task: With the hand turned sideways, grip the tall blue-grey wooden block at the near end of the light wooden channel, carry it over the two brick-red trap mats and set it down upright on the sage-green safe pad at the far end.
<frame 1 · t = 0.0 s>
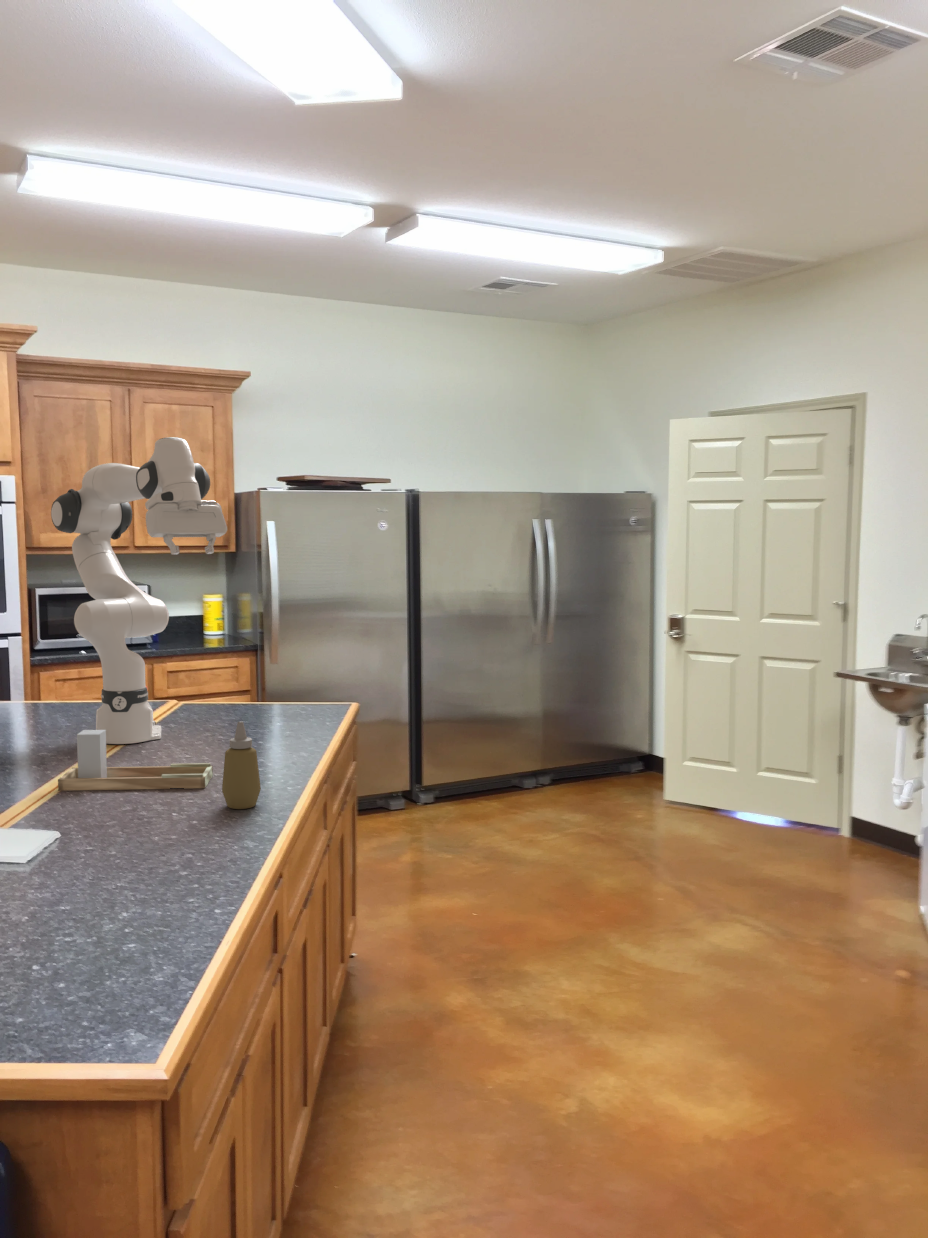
hand: (193, 553, 243), 52 cm above the worktop, tool tilted 20°, fingers open, 8 cm apart
blue-grey block: (92, 784, 227), resting in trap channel
squeeze bottle: (241, 807, 210), on the worktop
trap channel: (137, 783, 228), on the worktop
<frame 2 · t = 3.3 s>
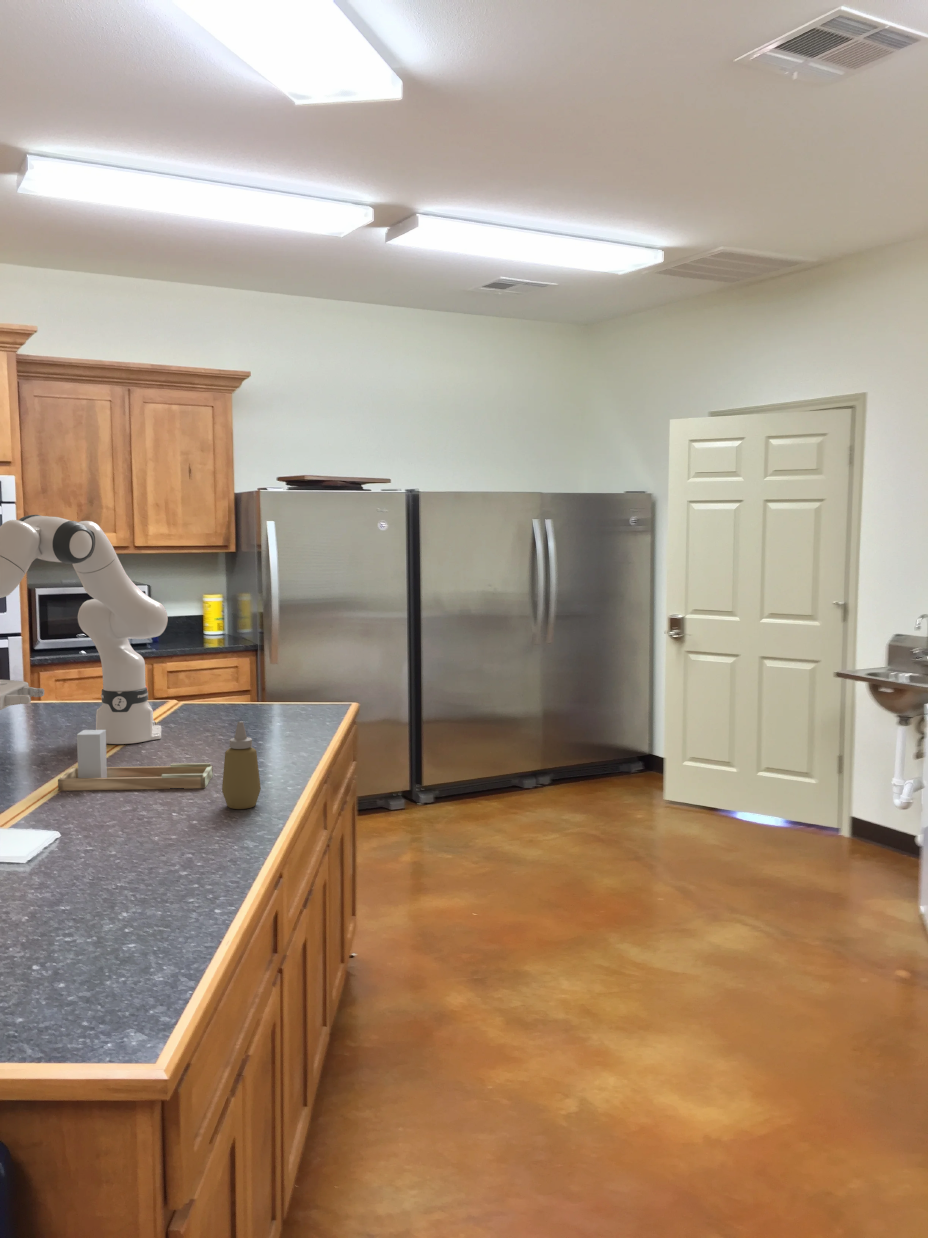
hand: (36, 696, 224), 20 cm above the worktop, tool horizontal, fingers open, 8 cm apart
nothing on the worktop moved.
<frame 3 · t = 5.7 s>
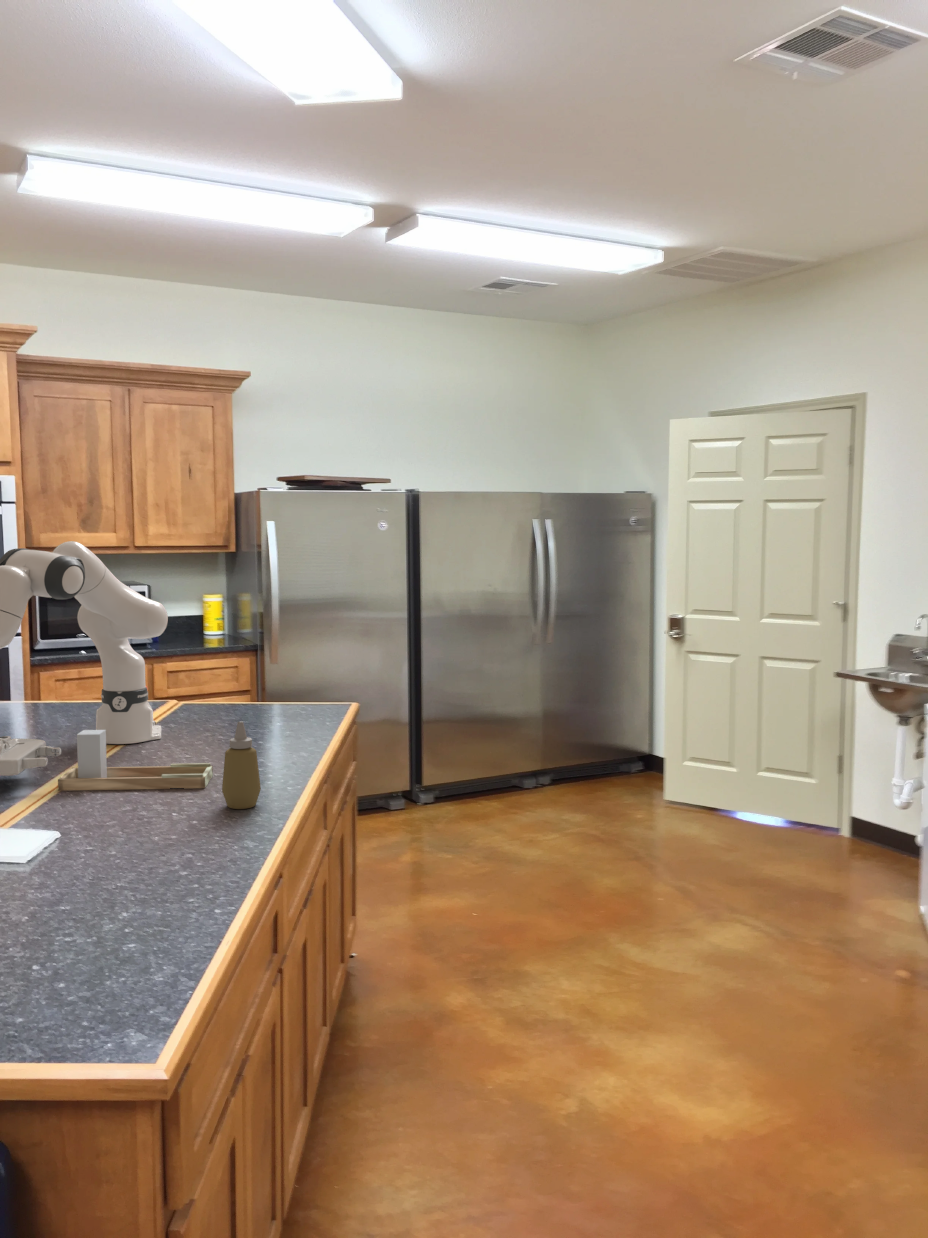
hand: (53, 756, 226), 6 cm above the worktop, tool horizontal, fingers open, 8 cm apart
nothing on the worktop moved.
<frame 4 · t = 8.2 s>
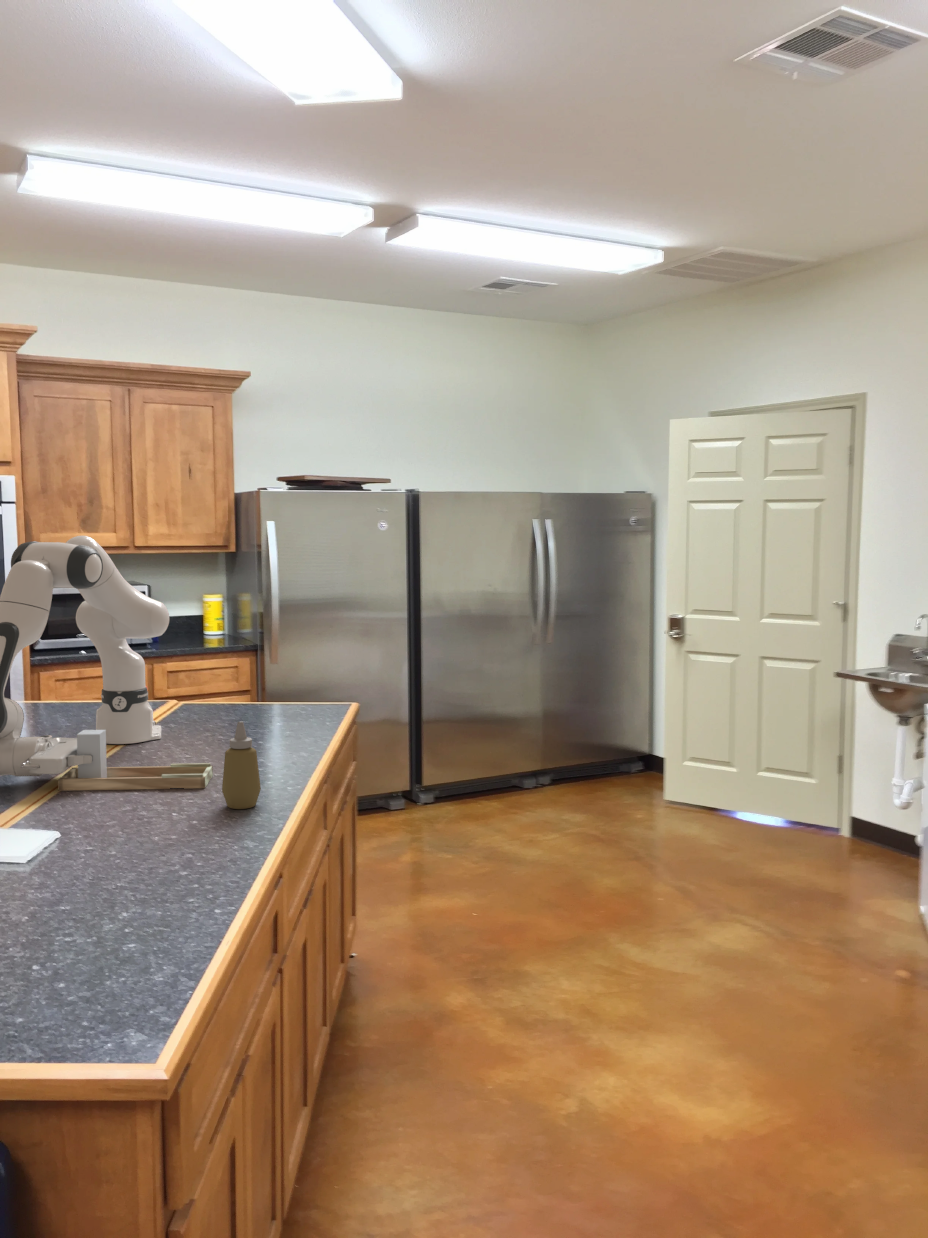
hand: (96, 755, 226), 7 cm above the worktop, tool horizontal, fingers closed on blue-grey block, 5 cm apart
blue-grey block: (92, 783, 227), resting in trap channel, touching gripper
everything else where it was.
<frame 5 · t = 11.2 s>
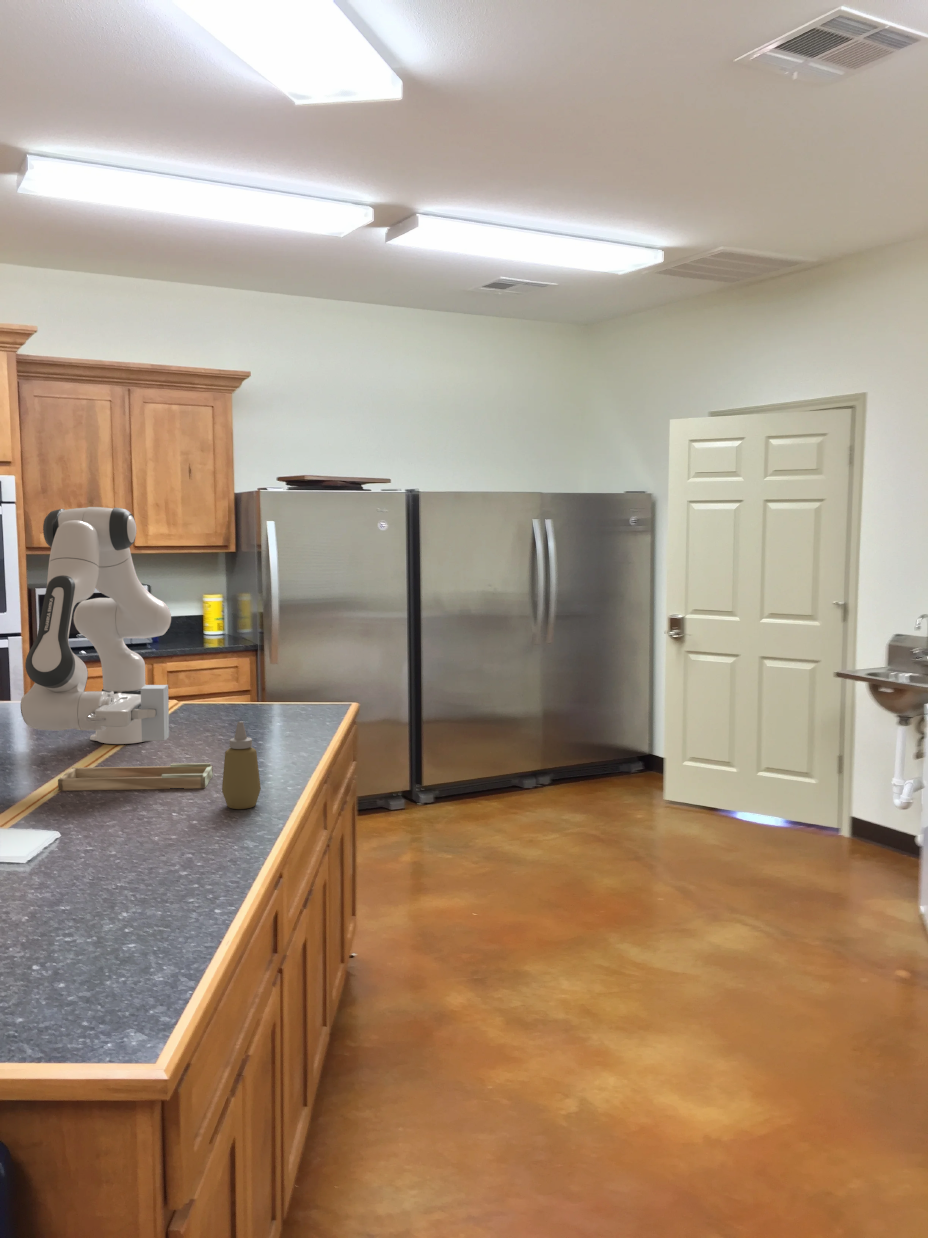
hand: (159, 710, 227), 17 cm above the worktop, tool horizontal, fingers closed on blue-grey block, 5 cm apart
blue-grey block: (155, 738, 227), point 10 cm above the worktop, touching gripper
everything else where it was.
when the fingers open (8 cm above the worktop, at t = 14.3 s): blue-grey block drops 1 cm, resting on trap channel.
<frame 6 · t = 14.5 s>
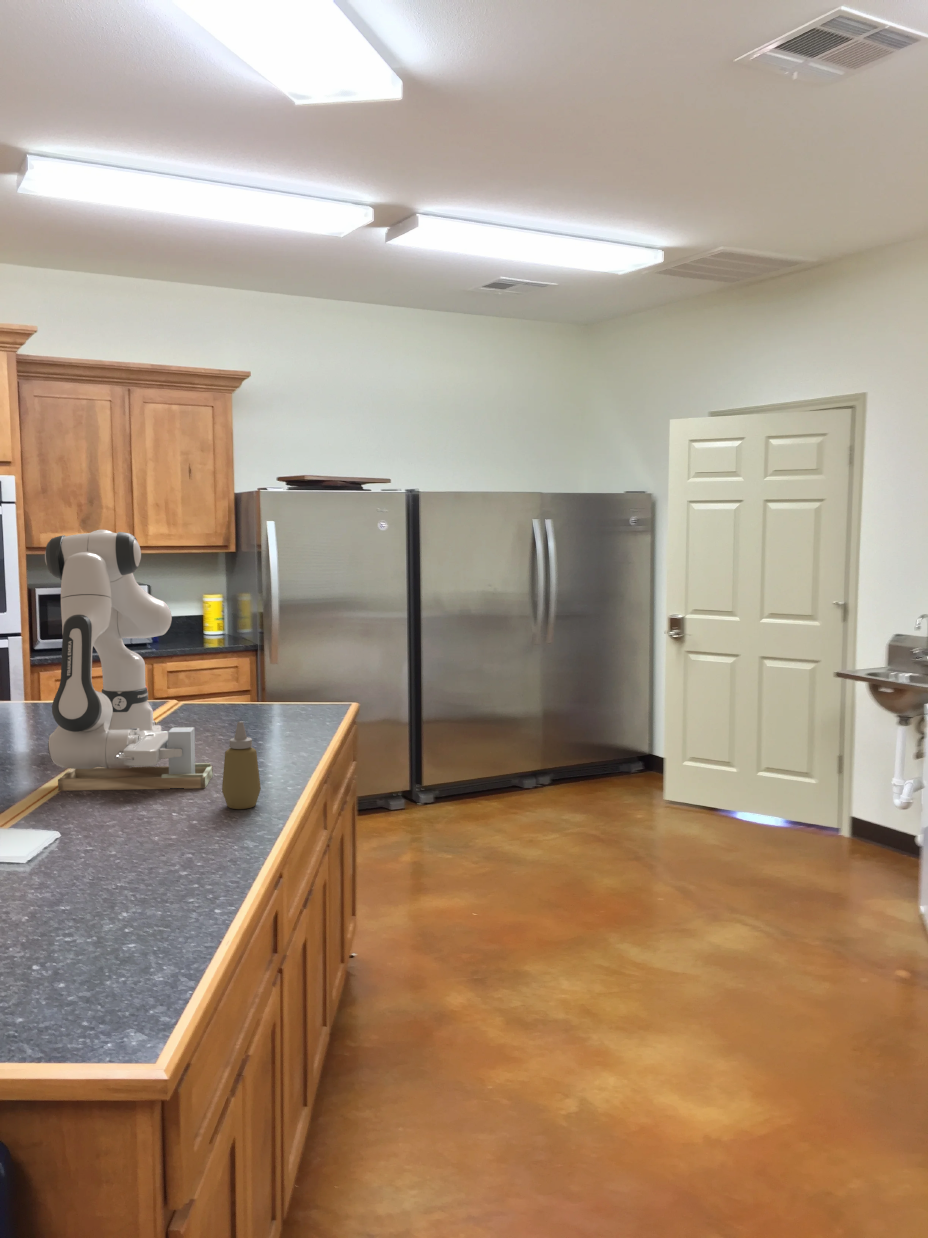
hand: (185, 748, 228), 8 cm above the worktop, tool horizontal, fingers open, 7 cm apart
blue-grey block: (182, 781, 229), resting on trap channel
everything else where it was.
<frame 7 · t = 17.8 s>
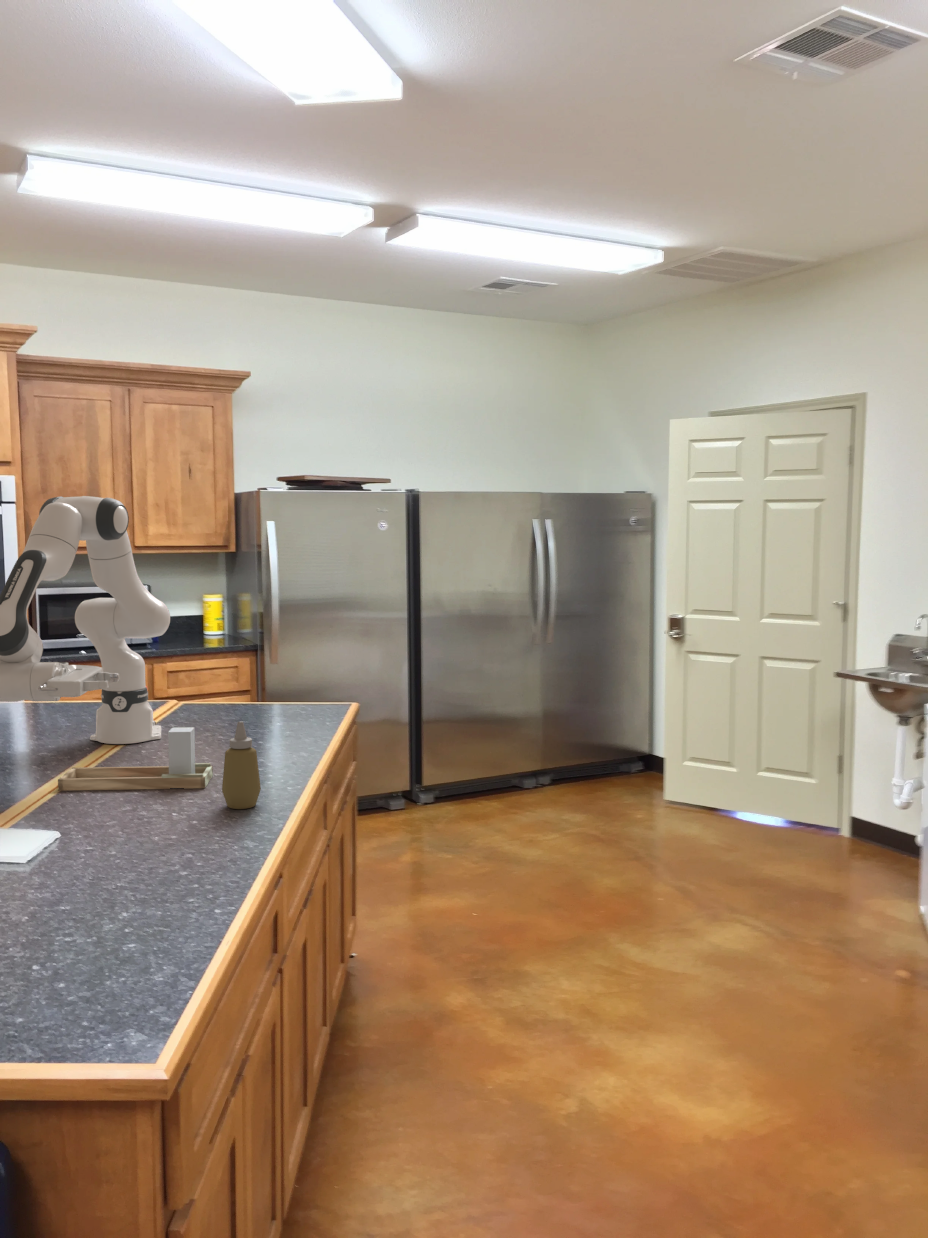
hand: (113, 681, 225), 24 cm above the worktop, tool horizontal, fingers open, 8 cm apart
nothing on the worktop moved.
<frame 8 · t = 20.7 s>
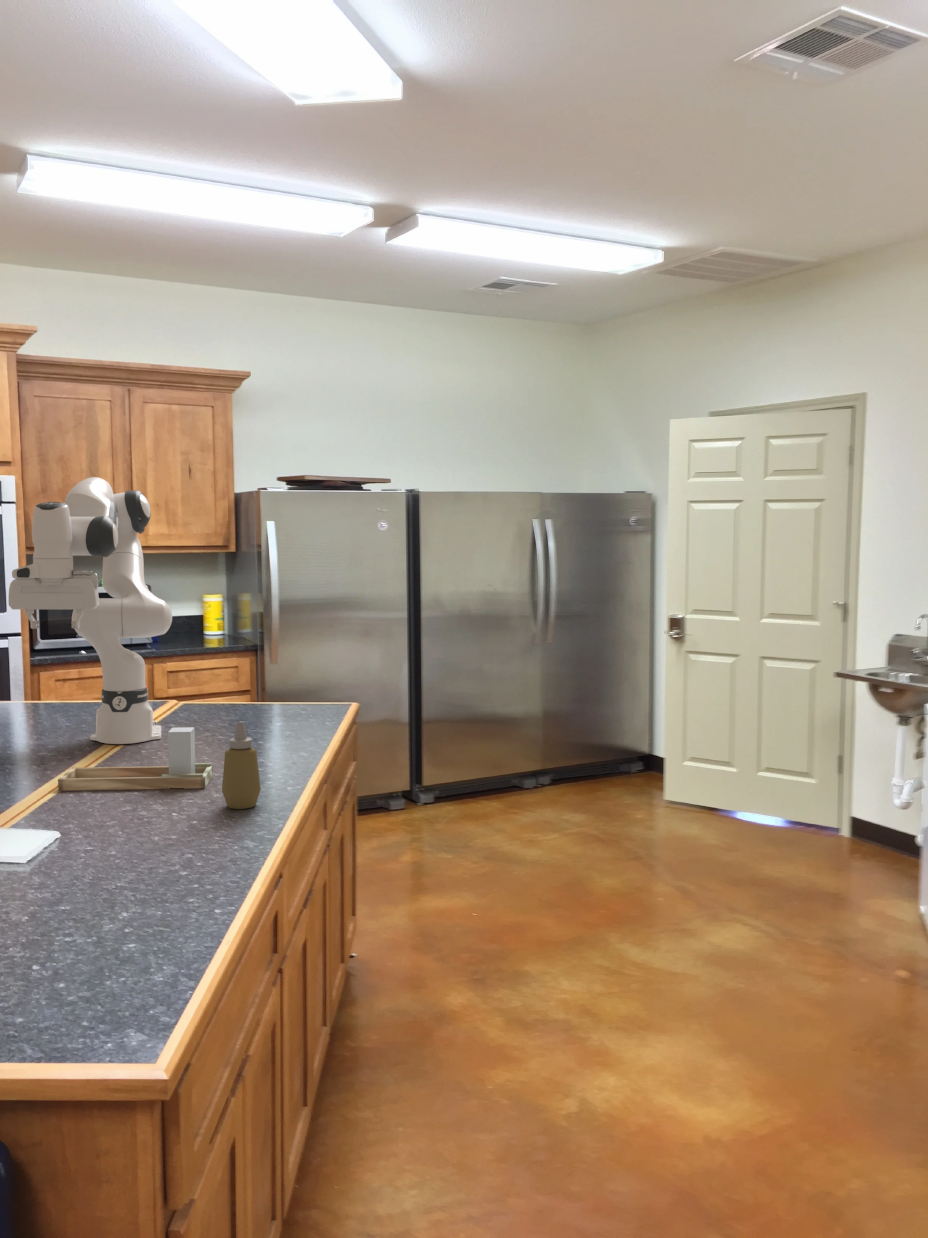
hand: (55, 628, 238), 34 cm above the worktop, tool pointing down, fingers open, 8 cm apart
nothing on the worktop moved.
at the end: blue-grey block inside the target area (0.8 cm from its centre), resting on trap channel; blue-grey block tilted 0°; the gripper is holding nothing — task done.
